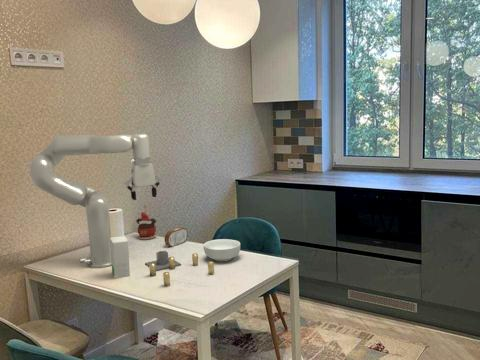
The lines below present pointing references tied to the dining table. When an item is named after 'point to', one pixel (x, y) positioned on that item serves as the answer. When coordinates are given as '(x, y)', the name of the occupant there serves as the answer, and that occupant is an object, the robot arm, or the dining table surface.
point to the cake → (146, 226)
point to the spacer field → (172, 266)
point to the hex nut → (162, 257)
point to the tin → (176, 236)
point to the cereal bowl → (222, 249)
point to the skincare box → (120, 256)
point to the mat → (162, 267)
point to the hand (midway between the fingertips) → (144, 198)
